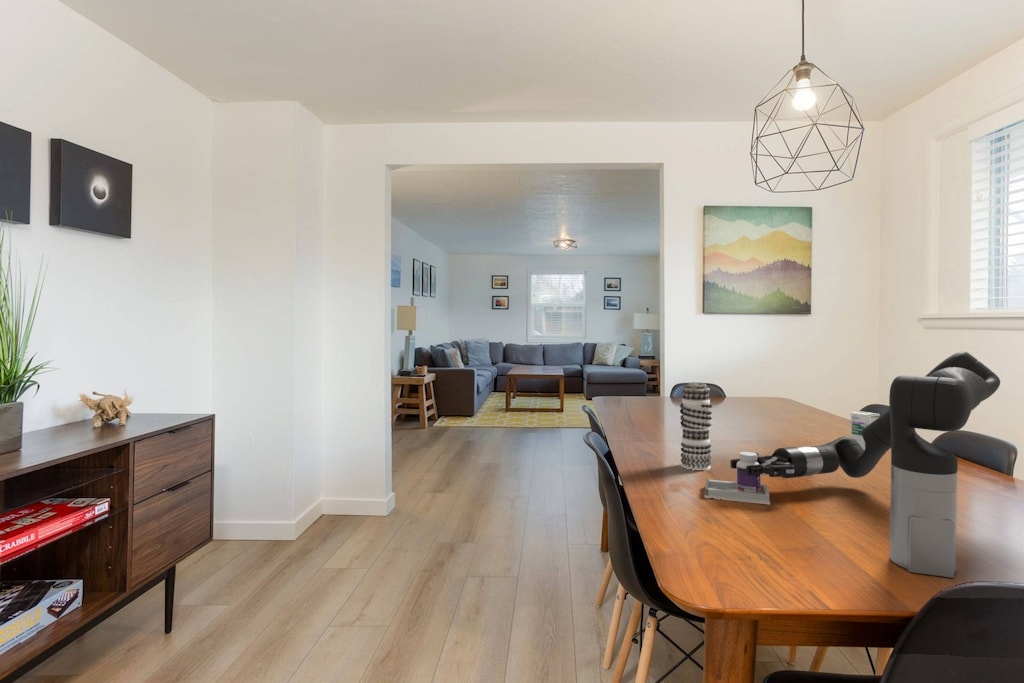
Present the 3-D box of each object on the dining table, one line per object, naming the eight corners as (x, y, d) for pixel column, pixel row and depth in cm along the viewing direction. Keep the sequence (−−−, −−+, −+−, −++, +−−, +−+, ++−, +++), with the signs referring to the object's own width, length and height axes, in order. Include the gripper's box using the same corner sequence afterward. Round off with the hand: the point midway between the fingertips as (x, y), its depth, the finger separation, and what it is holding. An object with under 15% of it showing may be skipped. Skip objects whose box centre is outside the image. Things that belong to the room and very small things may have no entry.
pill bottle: (763, 496, 128) (762, 456, 128) (739, 495, 129) (738, 455, 129) (757, 489, 133) (757, 451, 133) (734, 488, 134) (734, 450, 134)
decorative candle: (707, 463, 163) (707, 381, 162) (716, 471, 153) (716, 385, 153) (676, 462, 163) (676, 381, 163) (683, 470, 154) (683, 385, 153)
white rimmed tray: (766, 492, 134) (766, 484, 134) (770, 504, 125) (770, 496, 125) (705, 486, 140) (705, 478, 139) (704, 497, 130) (704, 489, 130)
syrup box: (849, 457, 168) (849, 411, 167) (861, 455, 170) (861, 410, 170) (868, 461, 163) (868, 414, 162) (879, 459, 165) (880, 413, 165)
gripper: (777, 441, 141) (721, 445, 137) (819, 453, 127) (758, 459, 123) (777, 468, 141) (721, 474, 138) (819, 484, 127) (759, 491, 124)
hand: (739, 467), depth 130 cm, fingers closed on pill bottle, 5 cm apart
